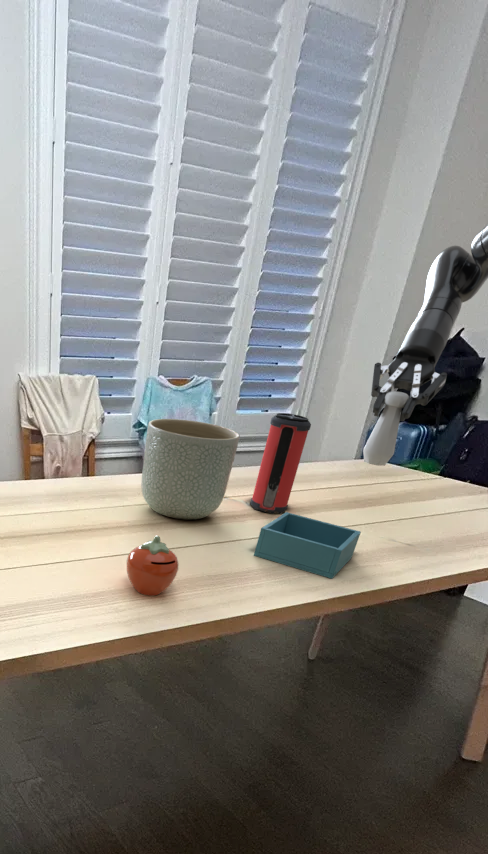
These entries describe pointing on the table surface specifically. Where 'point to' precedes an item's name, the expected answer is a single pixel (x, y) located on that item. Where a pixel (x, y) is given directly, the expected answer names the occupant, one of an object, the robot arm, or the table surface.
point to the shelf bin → (307, 544)
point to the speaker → (280, 462)
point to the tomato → (152, 567)
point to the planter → (187, 467)
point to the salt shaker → (385, 430)
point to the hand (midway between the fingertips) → (389, 415)
